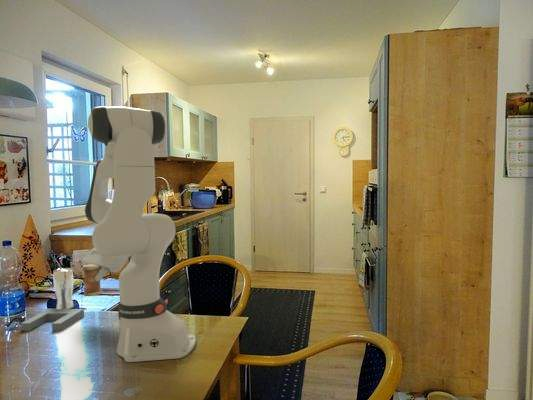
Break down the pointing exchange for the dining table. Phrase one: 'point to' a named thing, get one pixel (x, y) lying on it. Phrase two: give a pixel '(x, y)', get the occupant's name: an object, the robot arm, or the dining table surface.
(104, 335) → the dining table surface
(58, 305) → the beer glass
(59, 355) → the dining table surface
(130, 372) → the dining table surface
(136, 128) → the robot arm
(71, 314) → the grey flat piece
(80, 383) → the dining table surface
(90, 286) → the cord reel
